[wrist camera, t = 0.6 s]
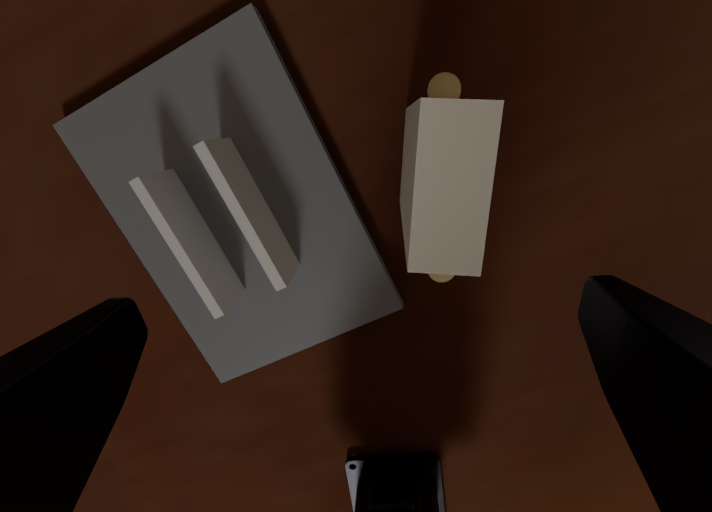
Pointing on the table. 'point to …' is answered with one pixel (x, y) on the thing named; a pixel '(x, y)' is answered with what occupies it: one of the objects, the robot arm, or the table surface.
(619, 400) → the robot arm
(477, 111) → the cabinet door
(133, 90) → the grey base plate
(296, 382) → the table surface
